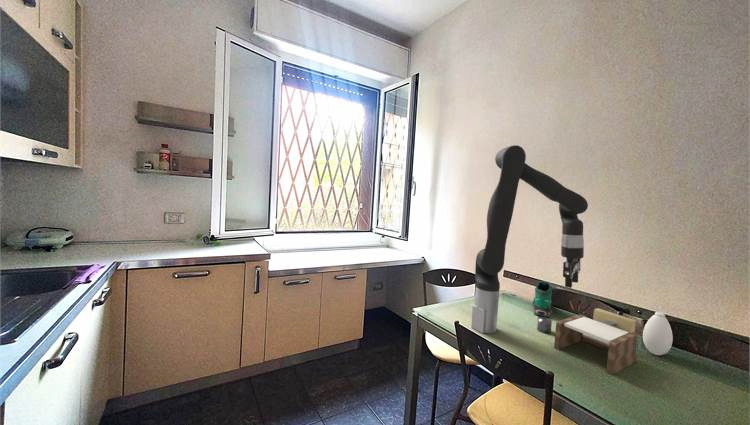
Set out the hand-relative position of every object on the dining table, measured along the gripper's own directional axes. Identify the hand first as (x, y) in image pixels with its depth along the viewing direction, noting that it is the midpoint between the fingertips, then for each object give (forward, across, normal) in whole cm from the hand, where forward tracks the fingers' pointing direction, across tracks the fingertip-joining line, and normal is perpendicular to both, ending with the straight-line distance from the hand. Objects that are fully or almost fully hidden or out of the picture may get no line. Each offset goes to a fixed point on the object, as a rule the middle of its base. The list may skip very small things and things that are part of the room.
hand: (571, 284), depth 119 cm
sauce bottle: (+23, -8, +25) cm, 34 cm away
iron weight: (+20, +6, -8) cm, 23 cm away
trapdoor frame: (+20, +13, +10) cm, 26 cm away
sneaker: (+21, -19, -17) cm, 33 cm away
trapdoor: (+14, +8, +11) cm, 20 cm away
